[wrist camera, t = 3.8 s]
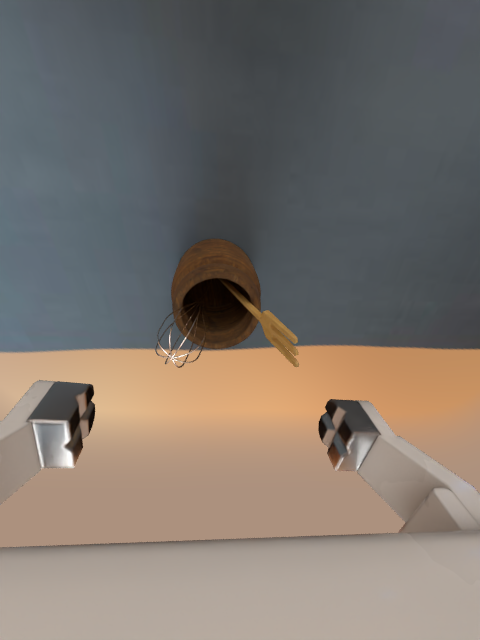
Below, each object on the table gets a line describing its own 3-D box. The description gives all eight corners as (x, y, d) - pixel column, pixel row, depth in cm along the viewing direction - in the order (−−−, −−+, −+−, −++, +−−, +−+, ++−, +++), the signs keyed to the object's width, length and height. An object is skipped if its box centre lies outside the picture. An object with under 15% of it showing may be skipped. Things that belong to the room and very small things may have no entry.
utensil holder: (168, 243, 20) (123, 315, 10) (251, 229, 21) (295, 287, 10) (186, 313, 23) (166, 428, 13) (260, 301, 23) (300, 405, 13)
